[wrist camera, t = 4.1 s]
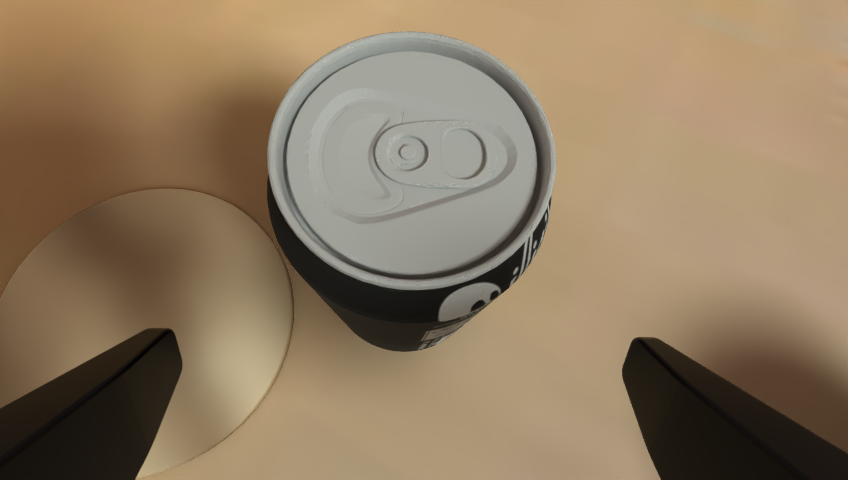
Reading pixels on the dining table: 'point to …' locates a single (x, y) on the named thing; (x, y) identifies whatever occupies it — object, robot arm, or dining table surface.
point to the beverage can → (409, 183)
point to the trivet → (155, 308)
